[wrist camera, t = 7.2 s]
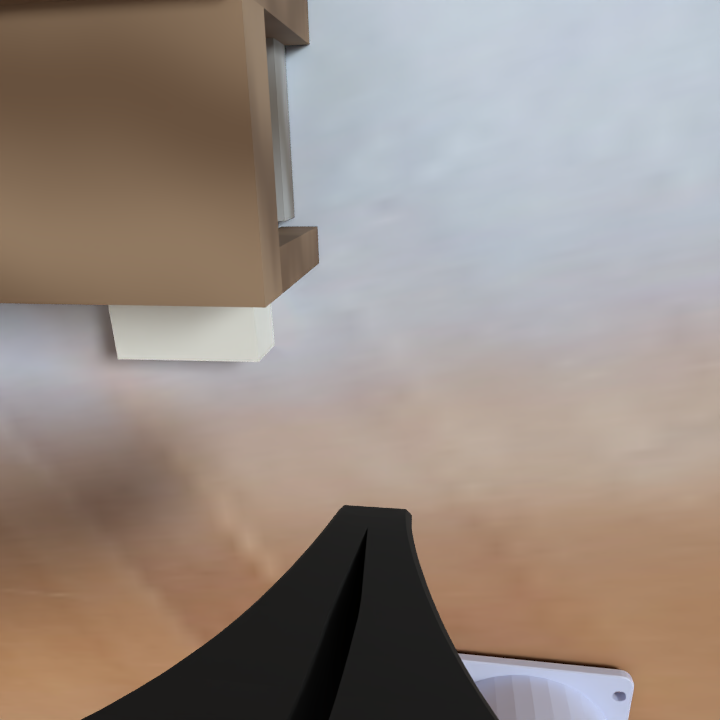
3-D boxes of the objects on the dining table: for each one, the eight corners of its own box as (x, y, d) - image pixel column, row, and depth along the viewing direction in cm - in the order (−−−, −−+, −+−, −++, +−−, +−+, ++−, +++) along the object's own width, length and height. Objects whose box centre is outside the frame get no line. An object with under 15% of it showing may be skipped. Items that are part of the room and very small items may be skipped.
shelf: (319, 263, 19) (258, 312, 13) (46, 261, 21) (-121, 305, 14) (305, -35, 16) (220, -148, 10) (-9, -13, 18) (-247, -100, 12)
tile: (277, 341, 21) (258, 361, 19) (149, 339, 22) (118, 359, 20) (254, 66, 18) (228, 54, 16) (106, 75, 19) (63, 65, 16)
